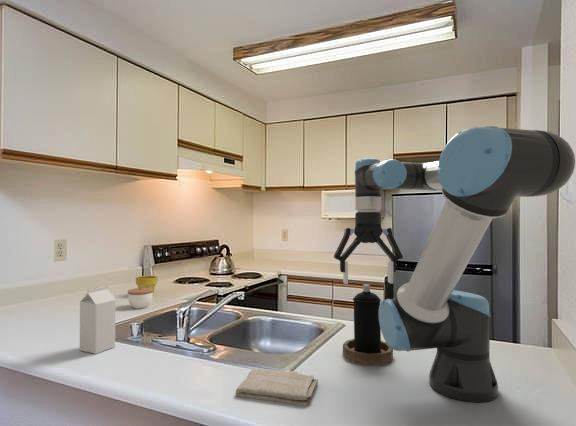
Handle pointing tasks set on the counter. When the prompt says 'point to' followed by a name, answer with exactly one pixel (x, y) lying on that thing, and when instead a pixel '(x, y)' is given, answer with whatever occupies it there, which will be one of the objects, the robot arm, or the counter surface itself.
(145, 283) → the plant pot
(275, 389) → the washcloth
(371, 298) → the aerosol can
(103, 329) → the milk carton
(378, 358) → the round tray
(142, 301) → the lidded jar
